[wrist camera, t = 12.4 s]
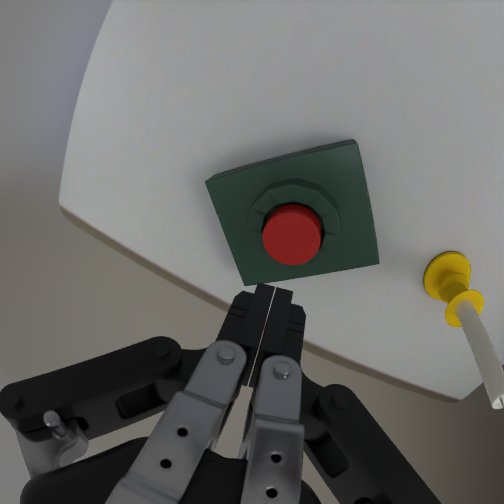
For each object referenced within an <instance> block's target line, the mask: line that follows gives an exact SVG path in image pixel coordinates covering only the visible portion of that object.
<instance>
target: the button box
mask: <svg viewBox="0 0 504 504" xmlns="http://www.w3.org/2000/svg"><path fill="white" fill-rule="evenodd" d="M205 183H206V186H207V189H208V191H209V194H210V197H211V199H212V202H213V205H214V207H215V210H216V213H217V215H218V218H219V221H220V223H221V226H222V229H223V231H224V234H225V236H226V239H227V242H228V244H229V247H230V250H231V252H232V255H233V257H234V260H235V263H236V265H237V268H238V270H239V273H240V275H241V278H242V281H243V283H244V286H250V285H257V284H258V282H259V283H270V282H276V281H283V280H289V279H295V278H301V277H307V276H313V275H319V274H325V273H331V272H337V271H343V270H348V269H354V268H360V267H365V266H370V265H376V264H379V255H378V248H377V241H376V234H375V228H374V221H373V215H372V210H371V204H370V199H369V193H368V188H367V183H366V179H365V174H364V169H363V165H362V160H361V156H360V152H359V148H358V144H357V142H356V141H355V140H354V139H352V140H347V141H342V142H338V143H333V144H328V145H324V146H320V147H315V148H311V149H307V150H303V151H298V152H294V153H290V154H286V155H282V156H279V157H275V158H271V159H267V160H264V161H260V162H256V163H253V164H249V165H246V166H242V167H239V168H235V169H232V170H228V171H225V172H222V173H219V174H215V175H213V176H212V177H211V178H209V179H208V180H206V181H205ZM290 204H295V205H300V206H303V207H306V208H308V209H309V210H310V211H312V212H313V213H314V214H315V215H316V217H317V218H318V220H319V223H320V227H321V241H320V247H319V249H318V251H317V253H316V254H315V256H314V257H313V258H312V259H310V260H309V261H307V262H305V263H303V264H299V265H287V264H283V263H280V262H278V261H276V260H275V259H274V258H272V257H271V256H270V255H269V254H268V252H267V251H266V249H265V247H264V244H263V230H264V228H265V225H266V223H267V221H268V219H269V217H270V215H271V214H272V213H273V212H274V211H275V210H276V209H278V208H279V207H282V206H285V205H290Z"/></svg>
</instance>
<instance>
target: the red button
mask: <svg viewBox="0 0 504 504" xmlns="http://www.w3.org/2000/svg"><path fill="white" fill-rule="evenodd" d="M320 241H321V227H320V223H319V220H318V218H317V217H316V215H315V214H314V213H313V212H312V211H310V210H309V209H308V208H306V207H303V206H300V205H295V204H290V205H285V206H282V207H279V208H278V209H276V210H275V211H274V212H273V213H272V214H271V215H270V217H269V219H268V221H267V223H266V225H265V228H264V230H263V244H264V247H265V249H266V251H267V252H268V254H269V255H270V256H271V257H272V258H274V259H275V260H276V261H278V262H280V263H283V264H287V265H299V264H303V263H305V262H307V261H309V260H310V259H312V258H313V257H314V256H315V254H316V253H317V251H318V249H319V247H320Z"/></svg>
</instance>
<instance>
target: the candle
mask: <svg viewBox="0 0 504 504" xmlns="http://www.w3.org/2000/svg"><path fill="white" fill-rule="evenodd" d="M470 275H471V266H470V264H469V261H468V260H467V259H466V257H465V256H464V255H462V254H461V253H459V252H454V251H452V252H446V253H443V254H441V255H439V256H437V257H436V258H435V259H434V260H433V261H432V262H431V263H430V264H429V265H428V267H427V268H426V271H425V274H424V280H423V282H424V287H425V289H426V291H427V293H428V294H429V295H430V296H431V297H432V298H435V299H438V300H442V301H443V302H445V303H448V305H447V308H446V310H445V319H446V322H447V323H448V324H449V325H450V326H453V327H462V328H463V330H464V332H465V335H466V337H467V339H468V342H469V344H470V347H471V349H472V352H473V354H474V357H475V360H476V362H477V365H478V368H479V370H480V373H481V376H482V379H483V382H484V385H485V387H486V390H487V393H488V396H489V398H490V402H491V404H492V407H493V408H495V409H500V408H503V409H504V371H503V369H502V366H501V364H500V361H499V359H498V356H497V354H496V351H495V349H494V347H493V345H492V342H491V340H490V338H489V336H488V333H487V331H486V329H485V327H484V325H483V323H482V321H481V319H480V317H479V314H480V313H481V311H482V309H483V305H484V299H483V296H482V294H481V293H480V292H478V291H477V290H468V289H469V279H470Z"/></svg>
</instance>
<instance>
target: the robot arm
mask: <svg viewBox="0 0 504 504" xmlns="http://www.w3.org/2000/svg"><path fill="white" fill-rule="evenodd" d="M274 288H275V287H274V286H270V285H266V284H263V283H259V282H258V284H257V287H256V290H255V293H254V294H253V293H250V292H246V291H242V292H240V293H239V294H238V295H236V296H235V297H234V300H233V302H232V304H231V307H230V309H229V311H228V314H227V316H226V318H225V321H224V323H223V325H222V327H221V330H220V332H219V334H218V337H217V339H216V341H215V342H214V343H212V344H210V345H209V346H208V347H207V348H204V349H200V350H188V349H181V347H180V345H179V344H178V343H177V342H176V341H175V340H173V339H171V338H169V337H163V336H158V337H153V338H150V339H148V340H145V341H142V342H139V343H136V344H133V345H131V346H128V347H125V348H122V349H119V350H116V351H113V352H111V353H107V354H105V355H102V356H99V357H96V358H93V359H90V360H87V361H84V362H81V363H77V364H75V365H71V366H68V367H65V368H62V369H59V370H55V371H52V372H49V373H46V374H42V375H39V376H36V377H32V378H29V379H26V380H23V381H19V382H15V383H12V384H9V385H7V386H5V387H4V388H3V389H2V390H1V392H0V412H1V413H2V415H3V416H4V417H5V418H6V419H7V420H8V421H9V422H10V423H11V425H12V427H13V428H14V429H15V431H16V434H17V437H18V441H19V444H20V447H21V451H22V454H23V457H24V459H25V463H26V466H27V468H28V471H29V474H30V476H31V480H29V481H28V482H27V483H26V485H25V486H24V488H23V490H22V493H21V496H20V504H321V502H320V500H319V499H318V497H317V496H316V494H315V492H314V491H313V490H312V489H311V487H310V486H309V485H308V484H307V483H306V482H304V481H303V480H302V479H301V477H302V476H301V475H302V463H303V450H304V452H305V453H306V455H307V456H308V458H309V459H310V461H311V462H312V464H313V465H314V467H315V468H316V470H317V471H318V473H319V474H320V476H321V477H322V479H323V480H324V482H325V483H326V485H327V486H328V487H329V489H330V490H331V492H332V493H333V495H334V496H335V497H336V499H337V500H338V501H339V503H340V504H441V503H440V501H439V500H438V499H437V498H436V496H435V495H434V494H433V493H432V491H431V490H430V489H429V488H428V487H427V485H426V484H425V482H424V481H423V480H422V479H421V478H420V476H419V475H418V474H417V472H416V471H415V470H414V469H413V467H412V466H411V465H410V464H409V462H408V461H407V460H406V459H405V457H404V456H403V455H402V454H401V452H400V451H399V450H398V449H397V447H396V446H395V445H394V443H393V442H392V441H391V440H390V438H389V437H388V436H387V435H386V433H385V432H384V431H383V430H382V428H381V427H380V426H379V425H378V423H377V422H376V421H375V419H374V418H373V417H372V416H371V414H370V413H369V412H368V410H367V409H366V408H365V407H364V405H363V404H362V403H361V401H360V400H359V399H358V398H357V396H356V395H355V394H354V393H353V392H352V390H350V389H349V388H347V387H346V386H343V385H340V384H331V385H328V386H326V387H322V386H320V385H318V384H316V383H315V382H313V381H311V380H310V379H309V378H307V377H306V376H305V374H304V373H303V371H302V369H301V365H300V360H301V352H302V345H303V337H304V329H305V327H304V326H305V320H306V314H305V312H304V310H303V307H302V306H299V305H295V304H291V301H292V295H293V291H289V290H286V289H282V288H278V287H276V290H275V294H274V297H273V301H272V304H271V308H270V311H269V307H270V303H271V300H272V296H273V292H274ZM268 311H269V315H268V318H267V314H268ZM266 318H267V322H266ZM265 322H266V326H265V329H264V325H265ZM263 329H264V333H263ZM262 333H263V337H262V340H261V336H262ZM260 340H261V344H260V348H259V352H258V355H257V358H256V362H255V365H254V369H253V373H252V376H251V380H250V383H249V387H252V388H254V389H253V392H252V396H251V399H250V402H249V405H248V410H247V416H246V421H245V426H244V432H243V437H242V442H241V447H240V451H239V454H238V458H237V459H233V458H232V459H231V458H225V457H222V456H221V455H219V454H217V453H215V452H214V451H215V448H216V445H217V442H218V439H219V437H220V435H221V433H222V431H223V428H224V426H225V424H226V421H227V419H228V416H229V414H230V412H231V410H232V407H233V405H234V402H235V400H236V399H237V397H238V395H239V392H240V388H241V386H242V385H244V386H247V384H248V380H249V377H250V374H251V370H252V367H253V364H254V361H255V357H256V354H257V350H258V347H259V343H260ZM164 410H165V411H164ZM162 411H164V413H163V415H162V416H161V418H160V420H159V421H158V423H157V425H156V426H155V428H154V430H153V431H152V433H151V435H150V436H149V437H141V438H136V439H133V440H130V441H127V442H125V443H123V444H120V445H118V446H116V447H113V448H111V449H109V450H106V451H104V452H101V453H99V454H96V455H94V456H91V457H89V458H86V459H83V460H81V461H78V462H76V463H72V462H73V461H74V460H76V459H77V458H79V457H81V456H82V455H84V454H85V452H86V451H87V448H88V440H91V439H93V438H96V437H99V436H102V435H105V434H107V433H110V432H113V431H115V430H118V429H121V428H123V427H126V426H128V425H131V424H133V423H136V422H138V421H140V420H143V419H145V418H148V417H150V416H152V415H155V414H157V413H159V412H162Z"/></svg>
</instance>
